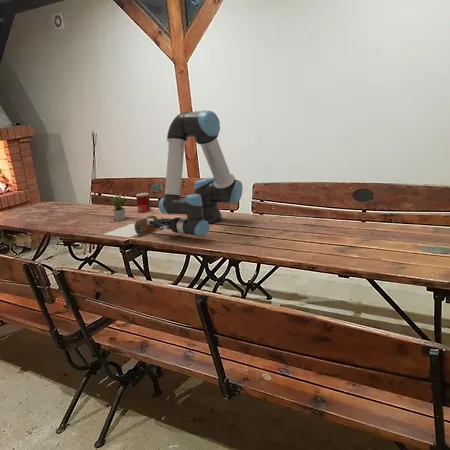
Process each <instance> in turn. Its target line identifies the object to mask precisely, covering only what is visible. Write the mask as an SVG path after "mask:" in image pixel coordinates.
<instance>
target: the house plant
mask: <svg viewBox="0 0 450 450" xmlns="http://www.w3.org/2000/svg"><path fill="white" fill-rule="evenodd" d="M122 194H123V193H119V194H118V193H117V192H116V193H115V196H113V195H111V197H112V198H111V197H110V196H108V197H107V199H109V200H110V201H111V202H110V204H109V205H108V207H109V208H114V209H112V212H113V216H114V218H115V220H116V221H124V220H125V219H126V208H125V207H124V205H125V204H128V202H127V201H129V200H131V199H130V198H126V199H125V197H127V194H125V195H124V196H122ZM111 204H112V205H111Z"/></svg>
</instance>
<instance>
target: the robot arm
mask: <svg viewBox="0 0 450 450" xmlns="http://www.w3.org/2000/svg"><path fill="white" fill-rule="evenodd" d="M220 125H221V122H220V119H219V117H218V116H217V114H216V113H215V112H214V111H212V110H199V111H184V112H181V113H179V114H178V115H176V116H175V117H174V118H173V120H172V122H171V123H170V125H169V128H168V130H167V136H166V137H167V138H166V141H167V143H168V151H167V161H166V162H167V163H166V176H165V187H164V188H165V190H164V197H162V198H160V199H159V202H158V209H159V211H160V213H162V214H168V215H186V218H185V217H174V218H161V219H160V218H159V219H158V218H157V219H158V220H156V219H146V222H147V224H148V225H153V227H155V228H157V229H159V230H160V231H163V230H164V229H166V230H171V231H172V232H173V233H175V234H184V235H186V236H189V235H191V236H195V237H206V236H207V235H208V234H209V232H210V228H211V227H210V224H215V223H218V222H221V221H222V220H223V216H222V213H221V210H220V208H219V206H218V203H222V204H223V203H225V204H227V203H228V204H234V203H236V204H237V203H239V202H240V200H241V198H242V195H243V189H244V188H243V183H242V181H241V180H236V177H235V175H234V174H232V173H231V172H230V170H229V167H228V164H227V162H226V158H225V156H224V153H223V151H222V148H221V145H220V143H219V140H218V137H219V133H220V131H221V126H220ZM188 138H193V139H194V141H195V143H196V144H197V145H200V147H201V150H202V152H203V155H204V157H205V160H206V162H207V165H208V166H209V170H210V171H211V174H212V176H213V177H207V178H206V177H205V178H203V179H202V178H201V179H198V180H196V181H194V185H193V186H194V193H192V194H186V195H185V197H184V198H181V194H182V181H183V180H182V179H183V178H182V177H183V167H184V155H185V145H186V144H187V143H188Z"/></svg>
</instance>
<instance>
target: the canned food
mask: <svg viewBox="0 0 450 450" xmlns="http://www.w3.org/2000/svg"><path fill="white" fill-rule="evenodd" d="M135 198H136V199H135V200H136V207H137V211H138V213H148V212H151V209H152V208H151V202H150V194H149V193H148V192H140V193H137V194H135Z"/></svg>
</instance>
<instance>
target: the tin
mask: <svg viewBox="0 0 450 450" xmlns="http://www.w3.org/2000/svg"><path fill="white" fill-rule="evenodd" d="M146 219H156V220H158V217H157V216H155V215H148V216H144V217H142V218H139V219H137V220H136V221H135V222H134V224H135V231H136V233H137V234H139V235H140V236H145V235H149V234H151V233H153V232H155V231H157V229H158V228H155V227H153V225H148V224H147V222H146ZM139 235H138V236H139Z"/></svg>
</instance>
